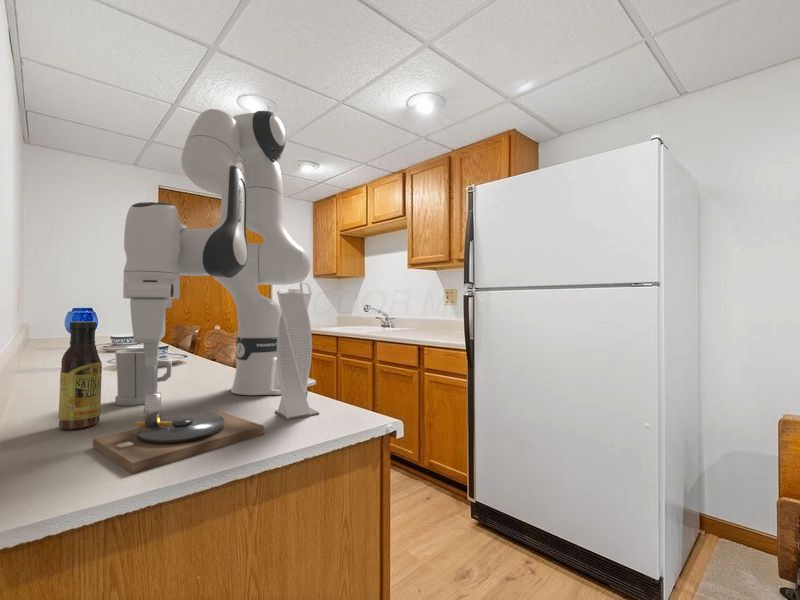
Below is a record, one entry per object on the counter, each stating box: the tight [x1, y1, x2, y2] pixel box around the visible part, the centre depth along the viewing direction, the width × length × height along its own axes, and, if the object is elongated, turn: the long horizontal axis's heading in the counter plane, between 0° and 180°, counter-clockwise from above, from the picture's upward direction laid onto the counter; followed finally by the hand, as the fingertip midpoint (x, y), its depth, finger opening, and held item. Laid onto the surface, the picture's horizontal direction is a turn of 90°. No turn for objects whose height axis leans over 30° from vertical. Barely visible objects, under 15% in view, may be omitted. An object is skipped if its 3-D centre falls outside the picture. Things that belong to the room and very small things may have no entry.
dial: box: [133, 392, 224, 444], centre depth 70 cm, size 14×13×6 cm
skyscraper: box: [274, 280, 320, 421], centre depth 86 cm, size 8×8×28 cm
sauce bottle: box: [58, 320, 103, 431], centre depth 78 cm, size 7×6×20 cm
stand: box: [92, 410, 265, 475], centre depth 70 cm, size 21×16×2 cm
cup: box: [114, 348, 173, 407], centre depth 97 cm, size 10×9×12 cm
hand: (151, 365), depth 74 cm, fingers closed
